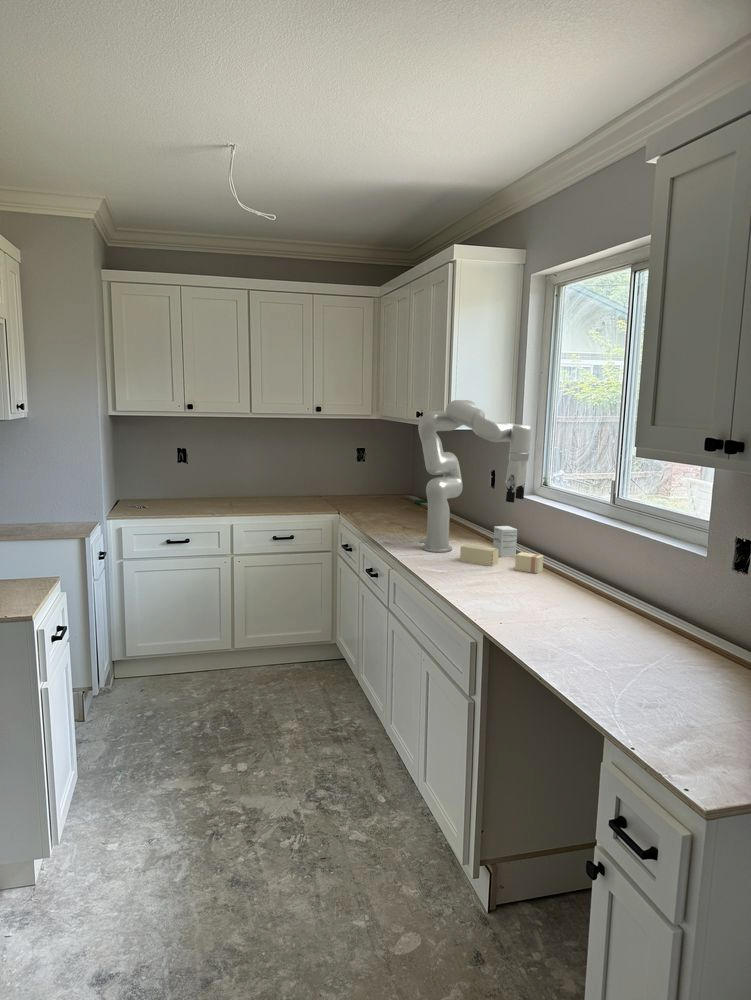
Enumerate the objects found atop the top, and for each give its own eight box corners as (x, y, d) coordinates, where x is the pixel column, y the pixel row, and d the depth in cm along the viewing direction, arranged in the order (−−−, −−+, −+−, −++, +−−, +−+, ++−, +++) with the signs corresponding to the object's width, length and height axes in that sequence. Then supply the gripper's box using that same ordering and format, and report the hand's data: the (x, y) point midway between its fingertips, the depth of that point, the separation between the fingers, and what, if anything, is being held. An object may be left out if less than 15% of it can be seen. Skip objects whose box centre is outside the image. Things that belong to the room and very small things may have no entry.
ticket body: (459, 561, 273) (460, 546, 272) (465, 558, 277) (466, 543, 276) (492, 566, 265) (493, 551, 264) (497, 564, 270) (498, 548, 269)
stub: (515, 569, 260) (515, 554, 259) (520, 567, 265) (521, 551, 264) (537, 573, 255) (538, 557, 254) (542, 570, 260) (543, 555, 259)
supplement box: (492, 555, 287) (493, 526, 285) (507, 554, 289) (509, 525, 287) (500, 559, 280) (501, 529, 278) (516, 558, 282) (517, 528, 280)
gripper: (517, 454, 270) (514, 496, 273) (500, 457, 255) (497, 501, 259) (535, 456, 266) (531, 498, 269) (519, 459, 251) (515, 504, 255)
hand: (514, 500), depth 264 cm, fingers open, 9 cm apart
